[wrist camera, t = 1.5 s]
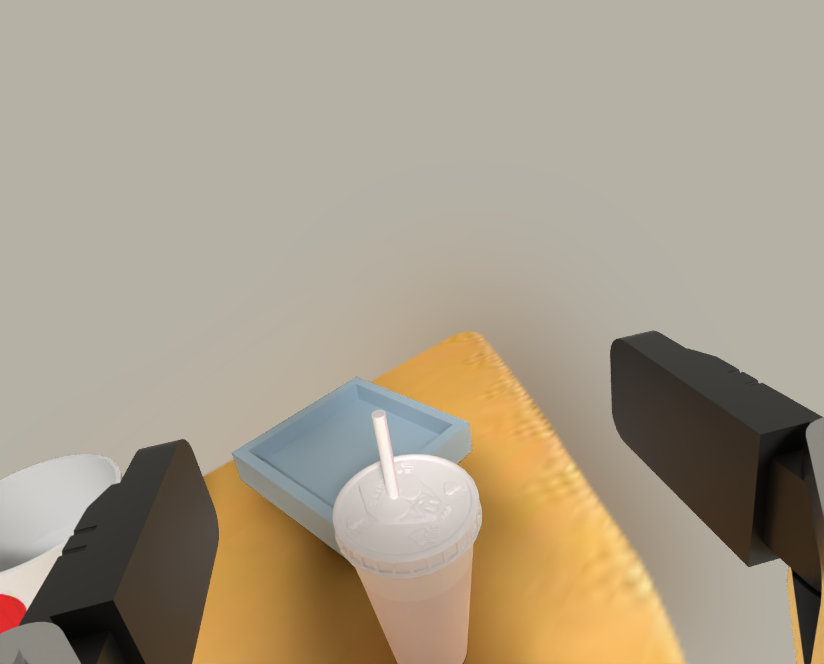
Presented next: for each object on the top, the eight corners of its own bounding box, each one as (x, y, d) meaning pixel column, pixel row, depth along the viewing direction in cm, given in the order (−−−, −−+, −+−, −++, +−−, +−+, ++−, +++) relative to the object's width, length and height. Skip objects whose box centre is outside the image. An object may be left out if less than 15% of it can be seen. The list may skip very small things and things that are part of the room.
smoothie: (406, 575, 31) (367, 365, 25) (513, 615, 28) (497, 387, 22) (342, 677, 27) (274, 448, 20) (462, 740, 23) (424, 491, 17)
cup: (-6, 676, 29) (-109, 540, 25) (133, 564, 35) (70, 438, 30) (69, 763, 25) (-39, 616, 20) (213, 618, 30) (153, 480, 26)
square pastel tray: (352, 579, 32) (340, 529, 30) (246, 497, 39) (231, 452, 37) (474, 468, 39) (469, 422, 37) (364, 416, 46) (356, 376, 45)
